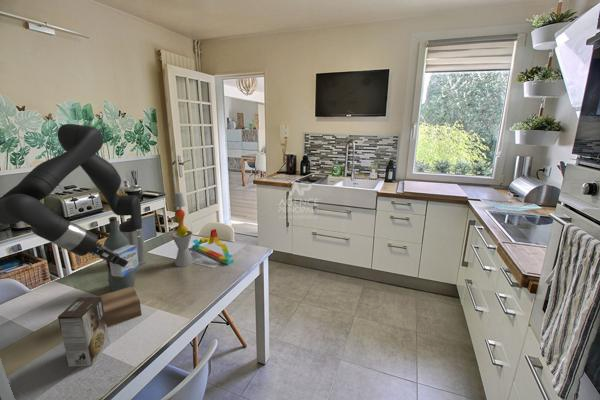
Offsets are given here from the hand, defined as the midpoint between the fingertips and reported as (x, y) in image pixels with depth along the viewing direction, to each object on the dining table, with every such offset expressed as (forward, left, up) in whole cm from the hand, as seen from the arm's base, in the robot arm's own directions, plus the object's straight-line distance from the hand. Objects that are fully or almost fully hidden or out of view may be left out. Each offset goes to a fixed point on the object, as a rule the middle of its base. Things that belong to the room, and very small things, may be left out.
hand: (121, 261), depth 99 cm
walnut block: (0, -3, -19) cm, 19 cm away
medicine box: (-1, +1, -5) cm, 5 cm away
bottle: (-17, +5, -19) cm, 26 cm away
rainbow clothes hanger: (-15, +46, -19) cm, 52 cm away
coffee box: (+14, -16, -19) cm, 29 cm away
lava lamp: (-18, +33, -19) cm, 42 cm away
